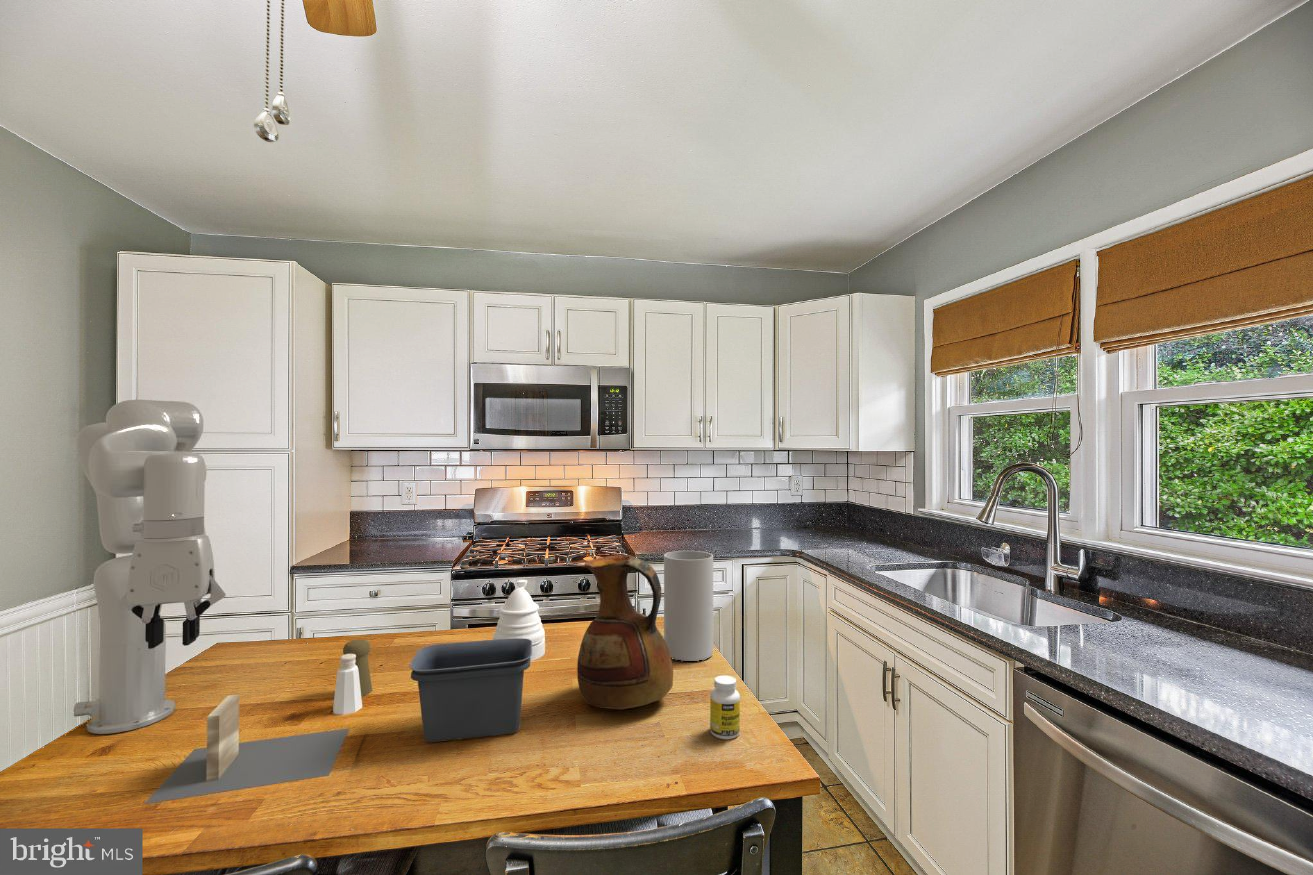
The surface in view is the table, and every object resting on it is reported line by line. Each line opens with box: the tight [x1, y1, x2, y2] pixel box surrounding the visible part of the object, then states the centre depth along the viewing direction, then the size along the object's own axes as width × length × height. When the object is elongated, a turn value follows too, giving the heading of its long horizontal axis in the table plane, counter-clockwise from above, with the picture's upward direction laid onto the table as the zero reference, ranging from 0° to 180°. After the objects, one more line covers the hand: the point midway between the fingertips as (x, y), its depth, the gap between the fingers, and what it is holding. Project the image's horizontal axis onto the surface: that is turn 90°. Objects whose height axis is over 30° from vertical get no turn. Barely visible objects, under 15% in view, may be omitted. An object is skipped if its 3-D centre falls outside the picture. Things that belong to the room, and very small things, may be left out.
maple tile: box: [206, 693, 240, 781], centre depth 93 cm, size 2×8×10 cm, turn 18°
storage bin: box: [408, 638, 532, 743], centre depth 108 cm, size 21×16×14 cm
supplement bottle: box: [709, 675, 741, 740], centre depth 105 cm, size 5×5×10 cm
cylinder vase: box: [663, 550, 714, 662], centre depth 146 cm, size 12×12×25 cm
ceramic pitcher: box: [576, 554, 674, 710], centre depth 119 cm, size 20×20×30 cm
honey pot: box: [492, 579, 546, 662], centre depth 146 cm, size 13×13×18 cm
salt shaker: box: [332, 654, 363, 716], centre depth 114 cm, size 5×5×11 cm
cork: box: [342, 638, 373, 698], centre depth 123 cm, size 6×6×11 cm
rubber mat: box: [143, 727, 350, 805], centre depth 95 cm, size 24×16×1 cm, turn 108°
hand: (172, 643), depth 92 cm, fingers open, 3 cm apart
